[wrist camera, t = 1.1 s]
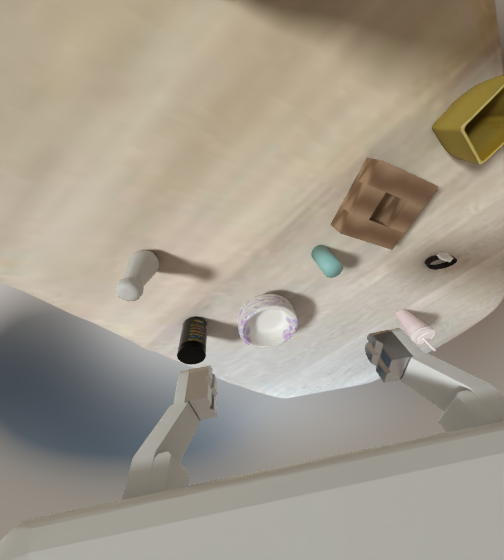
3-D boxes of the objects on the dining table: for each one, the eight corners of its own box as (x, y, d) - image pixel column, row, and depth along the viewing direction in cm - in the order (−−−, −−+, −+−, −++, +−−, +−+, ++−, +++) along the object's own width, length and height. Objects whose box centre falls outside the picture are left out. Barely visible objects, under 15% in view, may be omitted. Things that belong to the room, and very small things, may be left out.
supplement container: (181, 316, 60) (174, 347, 51) (206, 314, 60) (204, 345, 52) (184, 333, 63) (179, 365, 55) (208, 331, 64) (207, 362, 56)
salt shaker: (164, 253, 49) (149, 287, 38) (157, 272, 51) (140, 310, 41) (137, 242, 47) (112, 275, 36) (130, 263, 49) (105, 300, 39)
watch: (453, 250, 59) (466, 257, 56) (444, 266, 61) (455, 273, 58) (427, 251, 58) (438, 258, 55) (419, 267, 60) (429, 274, 57)
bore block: (366, 157, 43) (382, 160, 39) (419, 181, 47) (438, 186, 43) (330, 224, 50) (340, 233, 46) (378, 240, 54) (392, 249, 50)
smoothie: (387, 319, 71) (419, 356, 59) (398, 304, 68) (435, 340, 56) (403, 321, 72) (438, 357, 61) (415, 306, 69) (454, 342, 58)
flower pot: (462, 78, 38) (522, 66, 30) (481, 117, 41) (538, 114, 34) (417, 128, 41) (460, 128, 34) (437, 160, 45) (480, 166, 37)
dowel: (316, 243, 52) (330, 259, 46) (330, 247, 53) (346, 264, 47) (308, 257, 54) (320, 275, 48) (322, 261, 55) (336, 279, 49)
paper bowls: (292, 321, 66) (300, 342, 60) (242, 332, 66) (244, 354, 60) (288, 281, 57) (297, 300, 51) (231, 293, 57) (232, 314, 51)
